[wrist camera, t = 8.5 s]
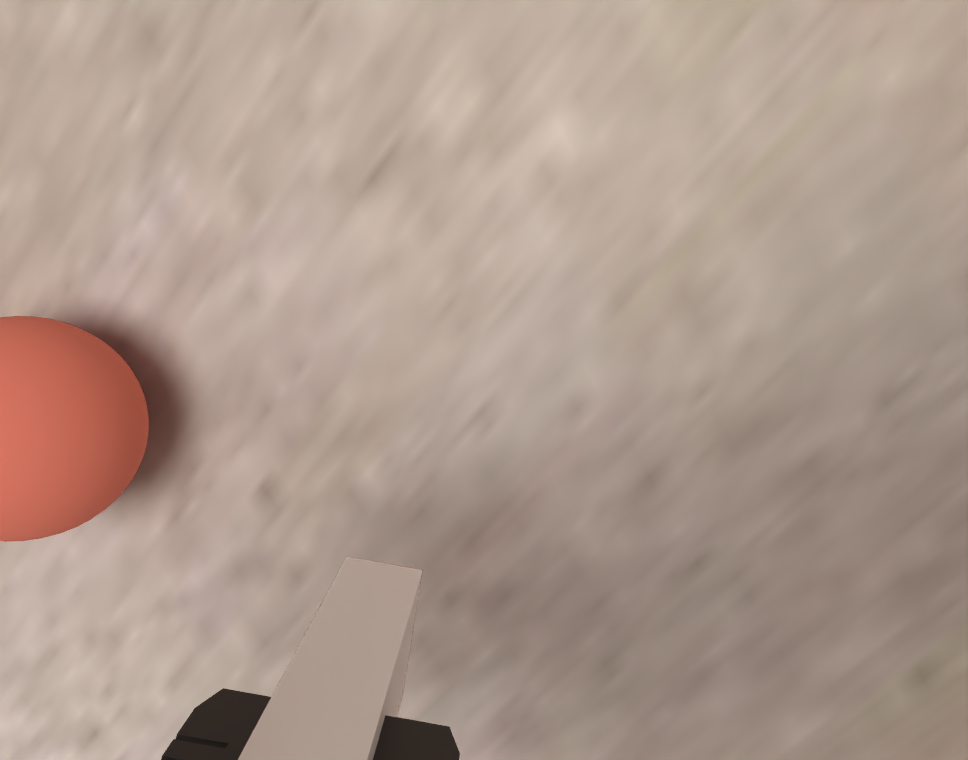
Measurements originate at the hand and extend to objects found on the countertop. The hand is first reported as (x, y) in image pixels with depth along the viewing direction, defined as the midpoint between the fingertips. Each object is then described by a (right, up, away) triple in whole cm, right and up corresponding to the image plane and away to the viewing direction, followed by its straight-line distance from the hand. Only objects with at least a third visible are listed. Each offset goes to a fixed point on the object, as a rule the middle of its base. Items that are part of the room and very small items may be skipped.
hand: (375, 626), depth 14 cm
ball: (-10, +4, +5) cm, 12 cm away
